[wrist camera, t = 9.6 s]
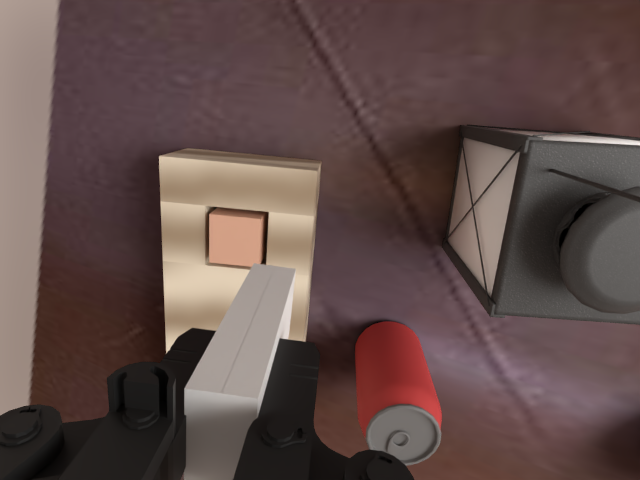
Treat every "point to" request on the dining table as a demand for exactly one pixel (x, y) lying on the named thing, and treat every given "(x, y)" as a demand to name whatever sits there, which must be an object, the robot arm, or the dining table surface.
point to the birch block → (239, 193)
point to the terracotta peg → (237, 236)
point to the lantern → (548, 223)
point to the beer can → (396, 393)
